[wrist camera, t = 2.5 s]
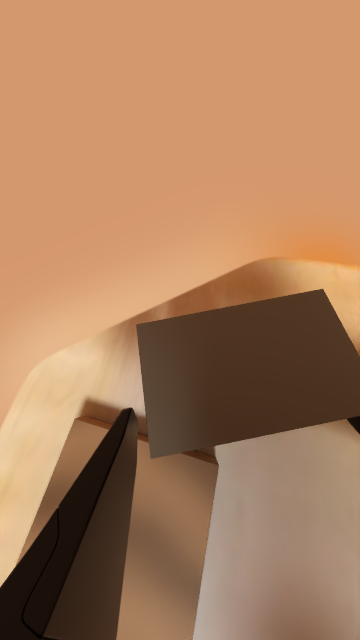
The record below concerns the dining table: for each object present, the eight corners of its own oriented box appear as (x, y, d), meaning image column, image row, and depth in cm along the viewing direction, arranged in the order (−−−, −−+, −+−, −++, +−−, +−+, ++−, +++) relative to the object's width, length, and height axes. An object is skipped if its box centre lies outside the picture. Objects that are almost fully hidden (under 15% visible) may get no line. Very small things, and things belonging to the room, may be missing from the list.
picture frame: (250, 398, 16) (427, 440, 4) (174, 413, 16) (132, 503, 4) (234, 344, 18) (327, 266, 6) (165, 358, 17) (118, 306, 6)
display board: (179, 688, 11) (178, 735, 9) (11, 604, 12) (-12, 633, 11) (215, 457, 14) (218, 465, 13) (84, 415, 16) (74, 419, 15)
